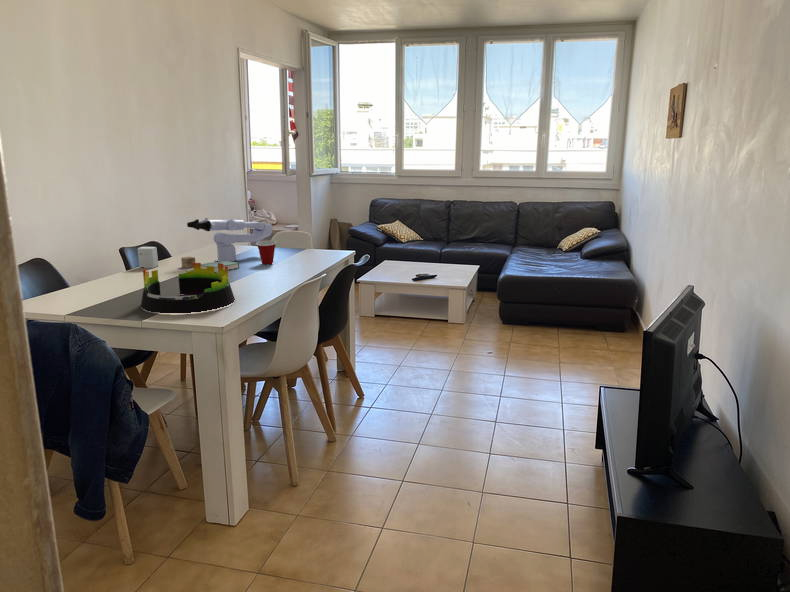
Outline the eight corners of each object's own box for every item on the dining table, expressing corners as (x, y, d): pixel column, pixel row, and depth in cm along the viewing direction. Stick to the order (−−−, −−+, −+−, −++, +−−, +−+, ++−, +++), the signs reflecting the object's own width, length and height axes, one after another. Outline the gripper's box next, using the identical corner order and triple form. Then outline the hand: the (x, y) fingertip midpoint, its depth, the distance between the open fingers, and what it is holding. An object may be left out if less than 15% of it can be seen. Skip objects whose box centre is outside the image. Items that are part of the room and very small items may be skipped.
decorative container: (123, 315, 234) (119, 276, 231) (163, 292, 270) (160, 259, 266) (218, 317, 233) (216, 278, 229) (246, 294, 268) (244, 260, 265)
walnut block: (190, 265, 329) (189, 256, 327) (195, 266, 326) (195, 257, 324) (181, 267, 325) (181, 257, 324) (187, 268, 322) (186, 258, 321)
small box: (158, 266, 326) (157, 246, 323) (153, 268, 321) (151, 248, 318) (144, 266, 327) (142, 246, 324) (139, 268, 321) (137, 248, 319)
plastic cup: (252, 264, 331) (251, 242, 329) (264, 261, 341) (263, 240, 338) (270, 266, 327) (269, 244, 325) (281, 263, 337) (280, 241, 334)
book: (225, 265, 330) (224, 260, 329) (239, 268, 323) (239, 262, 322) (199, 270, 318) (199, 264, 317) (213, 273, 311) (213, 267, 310)
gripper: (206, 216, 336) (183, 216, 325) (222, 218, 327) (200, 218, 317) (205, 229, 337) (183, 230, 327) (222, 232, 328) (200, 232, 318)
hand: (191, 225), depth 322 cm, fingers open, 7 cm apart
